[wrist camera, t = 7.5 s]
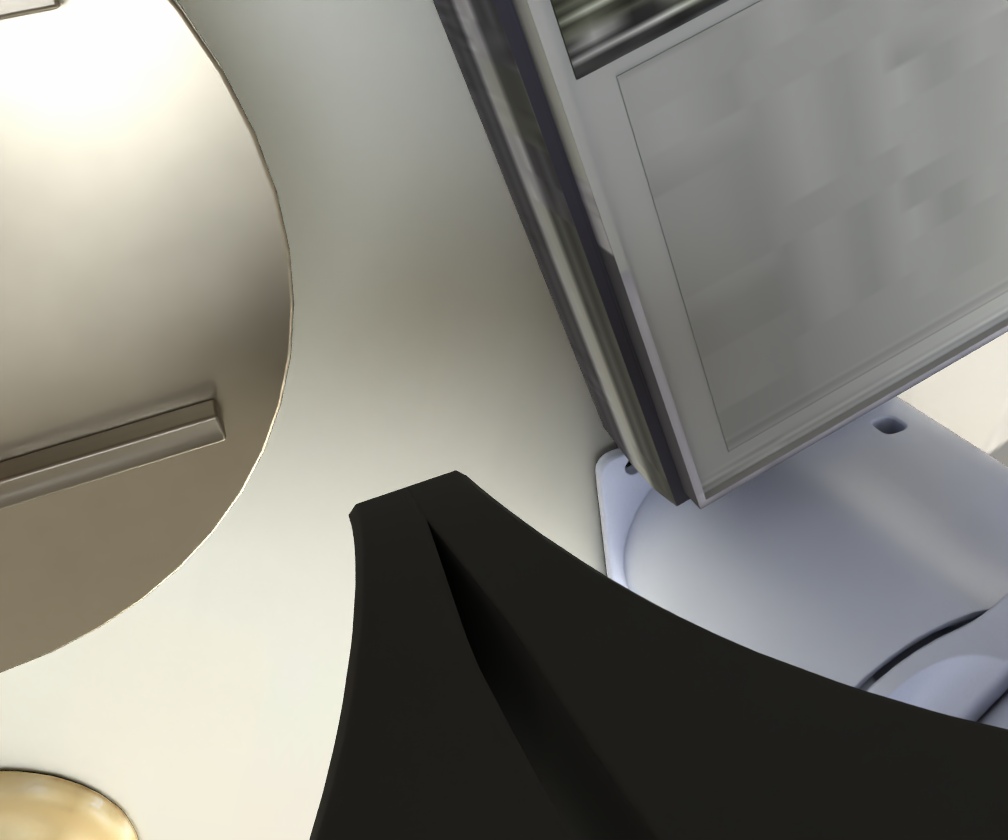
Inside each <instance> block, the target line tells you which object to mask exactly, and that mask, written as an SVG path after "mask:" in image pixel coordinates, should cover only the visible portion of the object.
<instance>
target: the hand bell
mask: <svg viewBox="0 0 1008 840" xmlns="http://www.w3.org/2000/svg"><path fill="white" fill-rule="evenodd" d="M0 840H138V838H137V834H136V832H135V830H134V828H133V826H132V824H131V823H130V821H129V820H128V818H127V816H126V815H125V813H124V812H123V811H122V810H121V809H120V808H119V807H118V806H117V805H115V804H114V803H112V802H110V801H109V800H108V799H107V798H106V797H104V796H103V795H102V794H100V793H97V792H95V791H93V790H91V789H89V788H87V787H85V786H83V785H80V784H77V783H74V782H71V781H68V780H65V779H61V778H58V777H54V776H49V775H43V774H36V773H28V772H20V771H0Z"/></svg>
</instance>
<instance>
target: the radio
mask: <svg viewBox="0 0 1008 840" xmlns="http://www.w3.org/2000/svg"><path fill="white" fill-rule="evenodd" d="M433 1H434V4H435V6H436V9H437V11H438V14H439V16H440V19H441V21H442V24H443V26H444V29H445V31H446V34H447V36H448V39H449V41H450V44H451V46H452V49H453V51H454V54H455V56H456V59H457V61H458V64H459V66H460V69H461V71H462V74H463V76H464V79H465V81H466V84H467V86H468V89H469V91H470V94H471V96H472V99H473V101H474V104H475V106H476V109H477V111H478V114H479V116H480V119H481V121H482V124H483V126H484V129H485V131H486V134H487V136H488V139H489V141H490V144H491V146H492V149H493V151H494V154H495V156H496V159H497V161H498V164H499V166H500V169H501V171H502V174H503V176H504V179H505V181H506V184H507V186H508V189H509V191H510V194H511V196H512V199H513V201H514V204H515V206H516V209H517V211H518V214H519V216H520V219H521V221H522V224H523V226H524V229H525V231H526V234H527V236H528V239H529V241H530V244H531V246H532V249H533V251H534V254H535V256H536V259H537V261H538V264H539V266H540V269H541V271H542V274H543V276H544V279H545V281H546V284H547V286H548V289H549V291H550V294H551V296H552V299H553V301H554V304H555V306H556V309H557V311H558V314H559V316H560V319H561V321H562V324H563V326H564V329H565V331H566V334H567V336H568V339H569V341H570V344H571V346H572V349H573V351H574V354H575V356H576V359H577V361H578V364H579V366H580V369H581V371H582V374H583V376H584V379H585V381H586V384H587V386H588V389H589V391H590V394H591V396H592V399H593V401H594V404H595V406H596V409H597V411H598V414H599V416H600V419H601V421H602V423H603V426H604V428H605V429H606V430H607V432H608V433H609V435H610V436H611V437H612V439H613V440H614V441H615V443H616V444H617V445H618V447H619V448H620V449H621V451H622V452H623V453H624V455H625V456H626V458H627V459H628V460H629V462H630V463H631V464H632V465H633V466H634V467H635V468H636V470H637V471H638V472H639V473H640V474H641V475H642V476H643V477H644V478H645V480H646V481H647V482H648V483H649V484H650V485H651V486H652V487H653V488H654V489H655V490H656V491H657V492H658V493H660V494H661V495H662V496H664V497H665V498H666V499H667V500H669V501H670V502H671V503H673V504H674V505H675V506H679V505H680V504H682V503H684V502H686V501H687V500H689V499H691V500H692V501H693V502H694V503H695V504H696V505H697V506H698V507H699V508H700V510H701V509H702V508H704V507H706V506H708V505H709V504H711V503H713V502H714V501H716V500H718V499H720V498H721V497H723V496H725V495H727V494H728V493H730V492H732V491H733V490H735V489H737V488H739V487H740V486H742V485H744V484H746V483H747V482H749V481H751V480H752V479H754V478H756V477H758V476H759V475H761V474H763V473H764V472H766V471H768V470H770V469H771V468H773V467H775V466H777V465H778V464H780V463H782V462H783V461H785V460H787V459H789V458H790V457H792V456H794V455H796V454H797V453H799V452H801V451H802V450H804V449H806V448H808V447H809V446H811V445H813V444H814V443H816V442H818V441H820V440H821V439H823V438H825V437H827V436H828V435H830V434H832V433H833V432H835V431H837V430H839V429H840V428H842V427H844V426H846V425H847V424H849V423H851V422H852V421H854V420H856V419H858V418H859V417H861V416H863V415H864V414H866V413H868V412H870V411H871V410H873V409H875V408H877V407H878V406H880V405H882V404H883V403H885V402H887V401H889V400H890V399H892V398H894V397H896V396H897V395H899V394H901V393H902V392H904V391H906V390H908V389H909V388H911V387H913V386H914V385H916V384H918V383H920V382H921V381H923V380H925V379H927V378H928V377H930V376H932V375H933V374H935V373H937V372H939V371H940V370H942V369H944V368H946V367H947V366H949V365H951V364H952V363H954V362H956V361H958V360H959V359H961V358H963V357H964V356H966V355H968V354H970V353H971V352H973V351H975V350H977V349H978V348H980V347H982V346H983V345H985V344H987V343H989V342H990V341H992V340H994V339H996V338H997V337H999V336H1001V335H1002V334H1004V333H1006V332H1008V0H433Z"/></svg>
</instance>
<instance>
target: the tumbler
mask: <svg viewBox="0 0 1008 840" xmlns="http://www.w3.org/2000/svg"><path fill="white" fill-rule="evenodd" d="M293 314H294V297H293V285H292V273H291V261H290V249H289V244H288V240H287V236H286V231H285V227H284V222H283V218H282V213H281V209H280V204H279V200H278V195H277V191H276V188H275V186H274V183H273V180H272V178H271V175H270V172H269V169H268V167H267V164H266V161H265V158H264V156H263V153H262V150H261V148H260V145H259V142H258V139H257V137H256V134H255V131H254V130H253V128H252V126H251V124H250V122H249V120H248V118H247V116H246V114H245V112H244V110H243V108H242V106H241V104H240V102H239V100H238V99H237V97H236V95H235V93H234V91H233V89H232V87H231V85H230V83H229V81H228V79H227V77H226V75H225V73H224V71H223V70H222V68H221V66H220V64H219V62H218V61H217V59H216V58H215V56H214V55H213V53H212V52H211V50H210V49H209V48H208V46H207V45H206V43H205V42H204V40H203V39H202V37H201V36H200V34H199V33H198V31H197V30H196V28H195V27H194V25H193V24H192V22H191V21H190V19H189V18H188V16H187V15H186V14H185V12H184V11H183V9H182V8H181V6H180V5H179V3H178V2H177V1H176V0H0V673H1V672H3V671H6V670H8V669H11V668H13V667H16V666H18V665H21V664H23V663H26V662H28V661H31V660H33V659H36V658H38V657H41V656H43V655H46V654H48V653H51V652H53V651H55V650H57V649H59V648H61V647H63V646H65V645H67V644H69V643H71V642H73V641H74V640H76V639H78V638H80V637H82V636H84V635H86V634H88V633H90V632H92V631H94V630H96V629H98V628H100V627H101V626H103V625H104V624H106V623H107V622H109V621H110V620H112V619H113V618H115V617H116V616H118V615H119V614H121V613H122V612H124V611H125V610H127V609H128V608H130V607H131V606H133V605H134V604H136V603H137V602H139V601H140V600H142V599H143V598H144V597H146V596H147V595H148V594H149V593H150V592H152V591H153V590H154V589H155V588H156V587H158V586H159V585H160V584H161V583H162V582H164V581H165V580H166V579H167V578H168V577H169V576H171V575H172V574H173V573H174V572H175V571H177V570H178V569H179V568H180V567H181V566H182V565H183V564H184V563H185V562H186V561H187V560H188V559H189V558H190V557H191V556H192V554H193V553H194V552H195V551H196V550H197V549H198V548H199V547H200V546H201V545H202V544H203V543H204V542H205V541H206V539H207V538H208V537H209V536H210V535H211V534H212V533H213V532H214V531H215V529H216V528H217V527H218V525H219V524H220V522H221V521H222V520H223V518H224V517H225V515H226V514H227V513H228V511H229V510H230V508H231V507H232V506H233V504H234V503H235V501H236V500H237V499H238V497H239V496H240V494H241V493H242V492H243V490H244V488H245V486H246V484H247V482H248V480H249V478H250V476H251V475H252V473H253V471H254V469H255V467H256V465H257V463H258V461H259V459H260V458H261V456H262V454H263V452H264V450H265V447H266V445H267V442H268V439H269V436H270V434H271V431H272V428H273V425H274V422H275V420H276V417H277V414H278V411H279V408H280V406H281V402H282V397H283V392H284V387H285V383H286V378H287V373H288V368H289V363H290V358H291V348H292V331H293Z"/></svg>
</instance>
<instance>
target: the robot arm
mask: <svg viewBox="0 0 1008 840" xmlns="http://www.w3.org/2000/svg"><path fill="white" fill-rule="evenodd" d="M628 461H629V460H628V459H627V458H626V456H625V455H624V453H623V452H622V451H621V449H620V448H617V449H614V450H611V451H609V452H607V453H605V454H604V455H603V456H602V457H601V458H600V459H599V460H598V462H597V464H596V469H595V473H596V482H597V491H598V499H599V508H600V517H601V525H602V534H603V542H604V551H605V560H606V568H607V576H605V575H603V574H602V573H600V572H599V571H597V570H595V569H594V568H592V567H591V566H589V565H587V564H586V563H584V562H583V561H581V560H580V559H578V558H577V557H575V556H574V555H572V554H571V553H569V552H568V551H566V550H565V549H563V548H562V547H560V546H559V545H557V544H556V543H554V542H553V541H551V540H550V539H548V538H547V537H545V536H544V535H542V534H541V533H539V532H538V531H536V530H535V529H534V528H532V527H531V526H529V525H528V524H527V523H525V522H524V521H523V520H521V519H520V518H519V517H517V516H516V515H515V514H513V513H512V512H511V511H509V510H508V509H507V508H505V507H504V506H503V505H501V504H500V503H499V502H498V501H496V500H495V499H494V498H492V497H491V496H490V495H489V494H488V493H486V492H485V491H484V490H483V489H481V488H480V487H479V486H478V485H477V484H475V483H474V482H473V481H472V480H471V479H470V478H468V477H467V476H466V475H464V474H462V473H460V472H458V471H453V472H450V473H447V474H444V475H441V476H438V477H435V478H432V479H429V480H426V481H423V482H420V483H417V484H414V485H411V486H408V487H406V488H403V489H400V490H397V491H394V492H391V493H388V494H385V495H382V496H379V497H376V498H373V499H370V500H367V501H364V502H361V503H358V504H356V505H355V506H354V508H353V509H352V511H351V513H350V514H349V518H350V522H351V525H352V529H353V536H354V545H355V563H356V587H355V603H354V618H353V633H352V642H351V650H350V657H349V664H348V671H347V678H346V684H345V691H344V698H343V704H342V710H341V715H340V720H339V725H338V730H337V735H336V740H335V745H334V749H333V754H332V758H331V762H330V766H329V770H328V774H327V778H326V783H325V787H324V791H323V794H322V798H321V802H320V805H319V809H318V812H317V815H316V819H315V822H314V826H313V829H312V833H311V836H310V840H1008V467H1007V466H1006V465H1004V464H1003V463H1001V462H999V461H998V460H996V459H995V458H993V457H991V456H990V455H988V454H987V453H985V452H984V451H982V450H980V449H979V448H977V447H976V446H974V445H973V444H971V443H969V442H968V441H966V440H965V439H963V438H961V437H960V436H958V435H957V434H955V433H954V432H952V431H950V430H949V429H947V428H946V427H944V426H942V425H941V424H939V423H938V422H936V421H934V420H933V419H931V418H930V417H928V416H927V415H925V414H923V413H922V412H920V411H919V410H917V409H915V408H914V407H912V406H911V405H909V404H908V403H906V402H904V401H903V400H901V399H900V398H898V397H894V398H892V399H890V400H889V401H887V402H885V403H883V404H882V405H880V406H878V407H877V408H875V409H873V410H871V411H870V412H868V413H866V414H864V415H863V416H861V417H859V418H858V419H856V420H854V421H852V422H851V423H849V424H847V425H846V426H844V427H842V428H840V429H839V430H837V431H835V432H833V433H832V434H830V435H828V436H827V437H825V438H823V439H821V440H820V441H818V442H816V443H814V444H813V445H811V446H809V447H808V448H806V449H804V450H802V451H801V452H799V453H797V454H796V455H794V456H792V457H790V458H789V459H787V460H785V461H783V462H782V463H780V464H778V465H777V466H775V467H773V468H771V469H770V470H768V471H766V472H764V473H763V474H761V475H759V476H758V477H756V478H754V479H752V480H751V481H749V482H747V483H746V484H744V485H742V486H740V487H739V488H737V489H735V490H733V491H732V492H730V493H728V494H727V495H725V496H723V497H721V498H720V499H718V500H716V501H714V502H713V503H711V504H709V505H708V506H706V507H704V508H702V509H701V510H700V508H699V507H698V506H697V505H696V504H695V503H694V502H693V501H692V500H691V499H689V500H687V501H686V502H684V503H682V504H680V505H679V506H675V505H674V504H673V503H671V502H670V501H669V500H667V499H666V498H665V497H664V496H662V495H661V494H660V493H658V492H657V491H656V490H655V489H654V488H653V487H652V486H651V485H650V484H649V483H648V482H647V481H646V480H645V478H644V477H643V476H642V475H641V474H640V473H639V472H638V471H637V470H636V468H635V467H634V466H633V465H630V466H629V467H626V464H627V463H628Z"/></svg>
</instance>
